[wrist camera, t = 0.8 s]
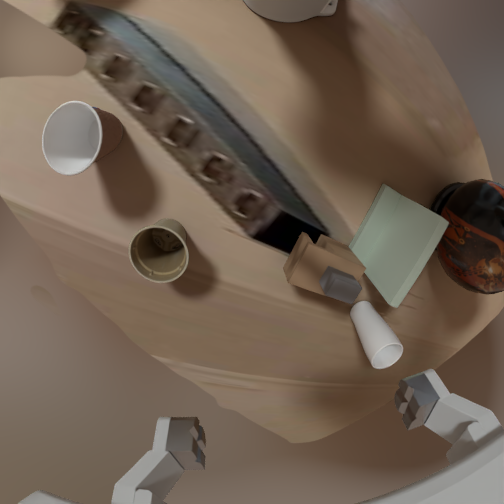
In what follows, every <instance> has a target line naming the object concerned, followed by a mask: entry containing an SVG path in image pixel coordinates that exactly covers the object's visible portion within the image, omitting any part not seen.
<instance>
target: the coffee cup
mask: <svg viewBox="0 0 504 504" xmlns="http://www.w3.org/2000/svg"><path fill="white" fill-rule="evenodd" d="M69 104H70V105H69ZM122 133H123V129H122V125H121V122H120V121H119V119H118V118H117V117H116V116H114V115H112V114H111V113H109V112H106V111H103V110H101V109H99V108H95V107H91V106H90V105H88V104H87V103H84V102H81V101H70V102H67V103H64V104H62V105H61V106H59V107H58V108H57V109H56V110H55V111H54V112H53V113H52V114H51V115H50V117H49V118H48V120H47V122H46V124H45V127H44V131H43V136H42V148H43V153H44V156H45V158H46V160H47V162H48V164H49V165H50V166H51V167H52V168H53V169H54V170H55V171H56V172H58V173H60V174H63V175H68V176H71V175H77V174H80V173H82V172H83V171H85V170H86V169H88V168H89V167H90V166H91V165H92V164H93V163H94V162H96V161H98V160H99V159H101V158H102V157H104V156H105V155H107V154H109V153H110V152H112V151H113V150H114V149H115V148H116V147H117V146H118V145H119V143H120V141H121V138H122ZM72 172H73V173H72Z"/></svg>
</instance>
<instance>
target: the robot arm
mask: <svg viewBox="0 0 504 504" xmlns="http://www.w3.org/2000/svg"><path fill="white" fill-rule="evenodd" d="M243 1H244V2H245V3H246V5H247V6H248V7H249V8H250V9H252V10H253V11H254V12H256V13H257V14H259V15H261V16H263V17H265V18H268V19H271V20H274V21H280V22H299V21H303V20H306V19H309V18H311V17H314V16H331V15H333V14H334V13H335V11H336V7H337V2H338V0H243ZM329 3H330V4H331V6H330V5H328V4H329ZM399 387H400V388H399V389H398V390H397V391H396V393H395V404H396V408H397V410H398V411H399V412H400V413H402V414H403V417H402V420H403V422H404V424H405V426H406V428H407V430H410V429H413V428H416V427H418V426H421V425H423V424H424V425H425V426H427V427H428V428H429V429H431V430H432V431H434V432H435V433H437V434H438V435H440V436H441V437H443V438H444V439H446V440H447V441H449V442H450V443H452V444H453V446H452V447H451V448H450V450H449V451H448V452H447V455H446V456H447V458H448V460H449V462H450V464H451V465H449V466H447V467H446V468H444V469H442V470H440V471H438V472H436V473H434V474H432V475H429V476H427V477H425V478H423V479H421V480H419V481H417V482H414V483H412V484H410V485H407V486H405V487H402V488H400V489H398V490H395V491H392V492H389V493H387V494H384V495H381V496H378V497H375V498H372V499H369V500H366V501H363V502H360V503H356V504H504V429H503V428H502V426H501V425H500V423H499V421H498V420H497V418H496V417H495V415H494V414H493V412H492V411H491V410H489V409H486V408H484V407H482V406H480V405H477V404H475V403H473V402H471V401H469V400H467V399H464V398H462V397H460V396H458V395H456V394H454V393H452V394H450V393H449V391H448V390H447V388H446V387H445V385H444V384H443V383H442V381H441V380H440V378H439V377H438V375H437V374H436V372H435V371H434V370H433V369H429V370H426V371H424V372H420V373H417V374H415V375H412V376H409V377H407V378H404V379H402V380H400V382H399ZM205 447H206V439H205V433H204V430H203V427H201V426H200V425H199V420H198V418H197V417H159V419H158V421H157V426H156V432H155V438H154V443H153V449H152V450H149V451H148V452H147V453H146V454H145V455H144V456H143V457H142V458H141V459H140V460H139V461H138V462H137V463H136V464H135V465H134V466H133V467H132V468H131V469H130V470H129V471H128V472H127V473H126V474H125V475H124V476H123V477H122V478H121V479H120V480H119V481H118V482H117V483H116V484H115V487H114V492H113V497H112V503H111V504H167V503H165V502H164V501H163V500H164V499H165V497H166V495H168V493H169V492H170V490H171V489H172V488H173V486H174V485H175V484H176V482H177V481H178V480H179V478H180V477H181V475H182V474H183V473H184V470H204V469H205V455H204V453H203V452H202V451H203V449H204V448H205ZM18 504H81V503H78V502H75V501H72V500H69V499H66V498H63V497H60V496H57V495H55V494H52V493H49V492H47V491H43V490H38V491H36V492H34V493H32V494H31V495H30V496H28V497H26V498H25V499H23V500H22V501H21V502H19V503H18Z"/></svg>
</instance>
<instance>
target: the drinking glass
mask: <svg viewBox="0 0 504 504" xmlns="http://www.w3.org/2000/svg"><path fill="white" fill-rule="evenodd" d="M350 317H351V319H352V321H353V323H354V326H355V328H356V331H357V333H358V336H359V338H360V341H361V344H362V346H363V349H364V351H365V354H366V356H367V358H368V360H369V361H370V363H371V365H372V366H373V367H374V368H376V369H383V368H387V367H389V366H391V365H393V364H394V363H395V362H396V361H397V360H398V359H399V358H400V357H401V355H402V353H403V346H402V344H401V342H400V340H399V339H398V337H397V336H396V334H395V333H394V331H393V330H392V329H391V328H390V326H389V325H388V324H387V323H386V322H385V321H384V319H383V318H382V317H381V316H380V315H379V313H378V312H377V311H376V310H375V309H374V307H373V306H372V304H371V303H370V302H368V301H360V302H358V303H356V304H355V305H354V306H353V307H352V309H351V311H350Z"/></svg>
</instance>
